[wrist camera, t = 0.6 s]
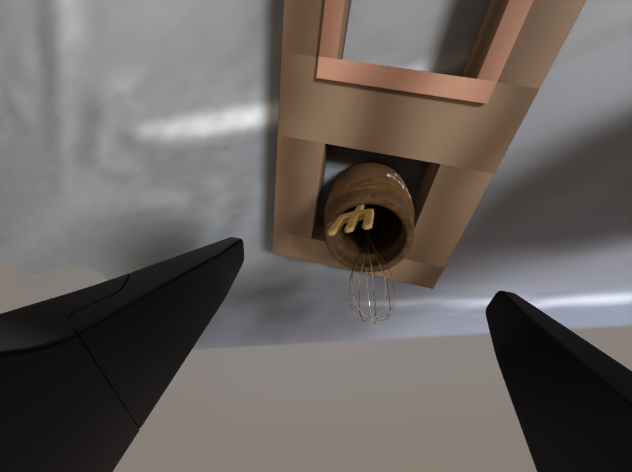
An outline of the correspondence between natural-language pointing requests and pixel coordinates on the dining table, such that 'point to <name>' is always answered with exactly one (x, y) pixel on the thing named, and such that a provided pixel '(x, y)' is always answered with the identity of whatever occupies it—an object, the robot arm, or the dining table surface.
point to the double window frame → (406, 121)
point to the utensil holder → (369, 222)
